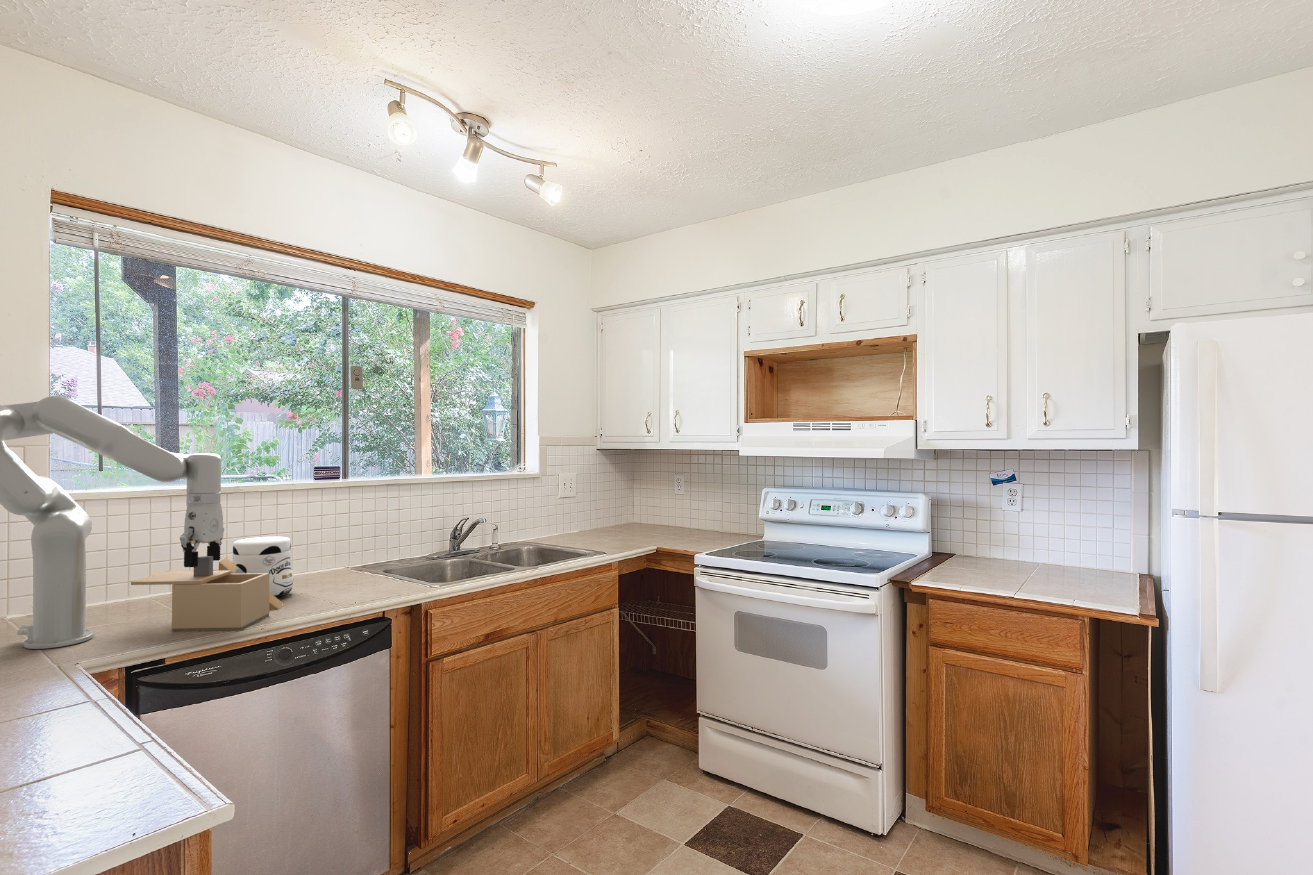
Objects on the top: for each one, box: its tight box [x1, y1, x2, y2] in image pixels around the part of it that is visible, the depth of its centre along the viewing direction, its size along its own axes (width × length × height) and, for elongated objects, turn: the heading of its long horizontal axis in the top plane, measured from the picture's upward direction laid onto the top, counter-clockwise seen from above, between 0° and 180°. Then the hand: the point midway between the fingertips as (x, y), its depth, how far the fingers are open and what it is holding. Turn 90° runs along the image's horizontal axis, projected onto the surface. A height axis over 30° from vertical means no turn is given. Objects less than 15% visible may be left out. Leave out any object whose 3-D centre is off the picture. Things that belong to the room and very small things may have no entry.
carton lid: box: [130, 555, 232, 586], centre depth 175 cm, size 17×14×6 cm
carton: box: [171, 573, 270, 633], centre depth 175 cm, size 17×14×12 cm
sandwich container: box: [218, 557, 284, 611], centre depth 191 cm, size 9×15×15 cm, turn 112°
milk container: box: [232, 536, 295, 598], centre depth 205 cm, size 17×17×18 cm
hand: (202, 563), depth 175 cm, fingers open, 9 cm apart
